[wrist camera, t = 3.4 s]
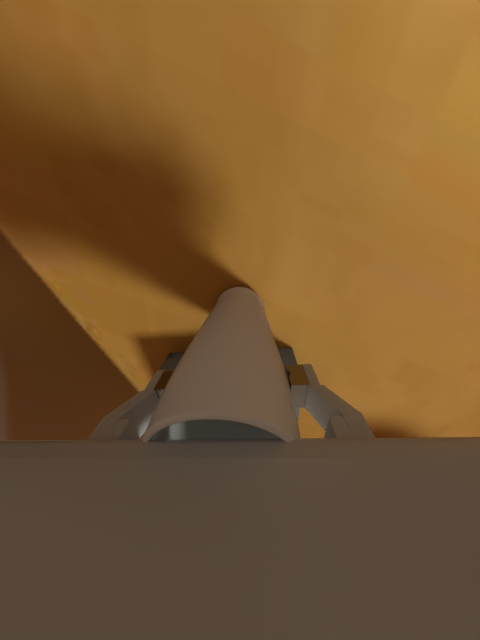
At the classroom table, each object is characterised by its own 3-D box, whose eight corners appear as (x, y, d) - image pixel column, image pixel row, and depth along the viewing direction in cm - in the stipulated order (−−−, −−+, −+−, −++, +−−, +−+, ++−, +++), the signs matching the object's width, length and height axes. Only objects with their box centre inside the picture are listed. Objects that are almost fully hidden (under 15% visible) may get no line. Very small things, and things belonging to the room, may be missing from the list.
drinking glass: (202, 319, 21) (125, 477, 8) (223, 267, 18) (155, 387, 5) (253, 340, 22) (257, 509, 9) (281, 294, 19) (347, 450, 6)
